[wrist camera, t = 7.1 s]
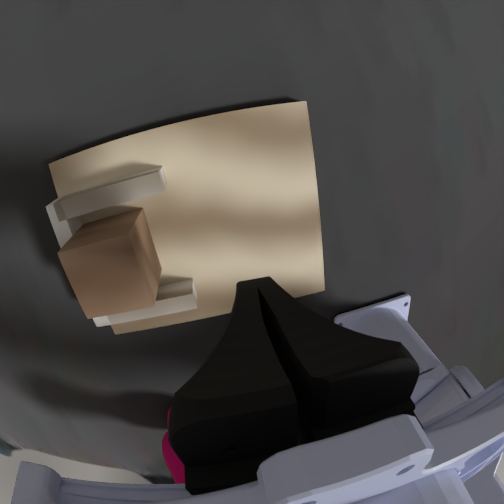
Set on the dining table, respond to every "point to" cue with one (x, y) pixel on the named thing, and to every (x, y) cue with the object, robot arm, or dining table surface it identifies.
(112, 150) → the board
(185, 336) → the dining table surface
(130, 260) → the block
